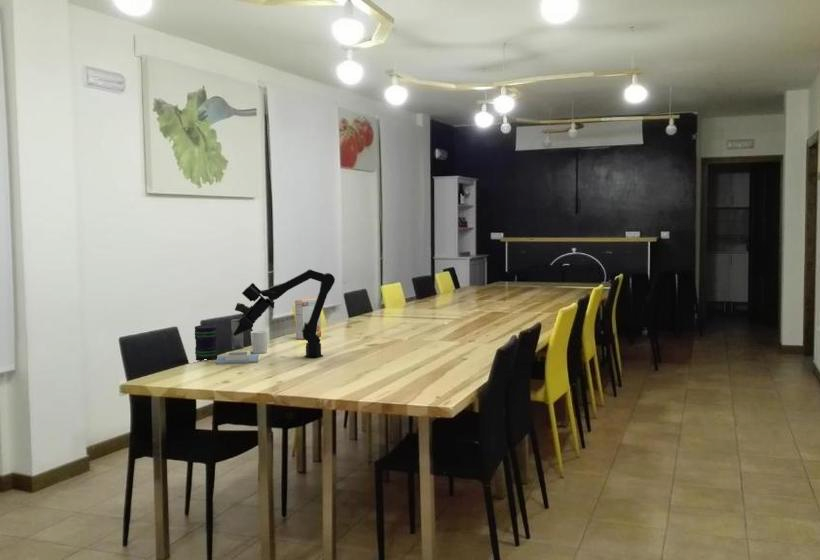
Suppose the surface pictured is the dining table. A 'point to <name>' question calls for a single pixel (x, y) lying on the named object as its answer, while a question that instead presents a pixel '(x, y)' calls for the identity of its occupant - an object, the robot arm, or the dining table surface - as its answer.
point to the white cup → (259, 341)
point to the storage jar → (206, 342)
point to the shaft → (238, 339)
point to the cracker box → (305, 316)
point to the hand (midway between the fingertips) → (234, 334)
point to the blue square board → (237, 357)
